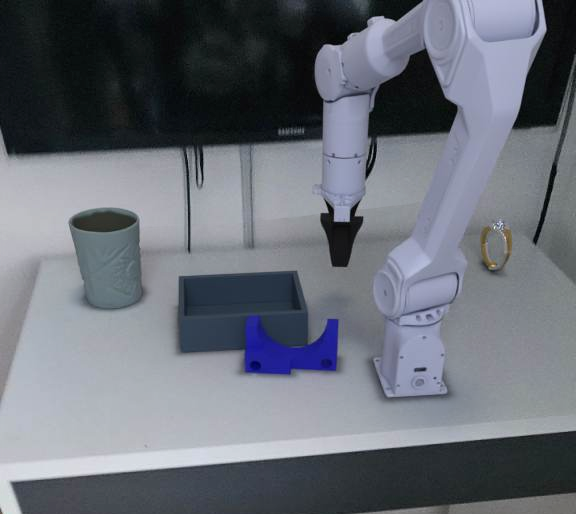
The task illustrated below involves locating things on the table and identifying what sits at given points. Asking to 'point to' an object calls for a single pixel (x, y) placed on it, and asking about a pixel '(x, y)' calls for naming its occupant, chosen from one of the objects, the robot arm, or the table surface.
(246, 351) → the blue cradle bracket
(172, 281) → the table surface
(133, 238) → the embossed grey cup
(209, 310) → the desk bin
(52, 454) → the table surface
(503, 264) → the ring
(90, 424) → the table surface
